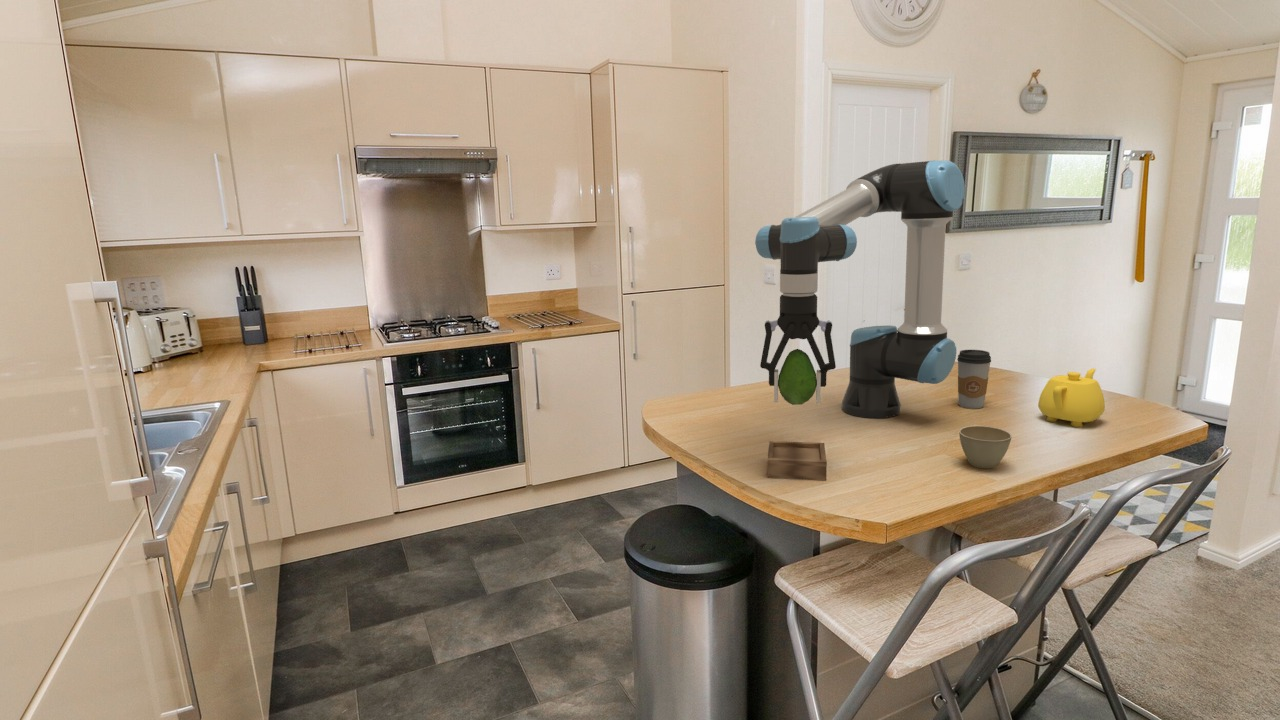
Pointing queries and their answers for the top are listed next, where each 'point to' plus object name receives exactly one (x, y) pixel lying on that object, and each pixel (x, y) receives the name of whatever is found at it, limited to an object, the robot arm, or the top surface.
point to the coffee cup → (973, 378)
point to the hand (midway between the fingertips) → (797, 400)
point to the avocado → (797, 378)
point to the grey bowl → (984, 445)
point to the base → (796, 460)
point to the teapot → (1072, 398)
